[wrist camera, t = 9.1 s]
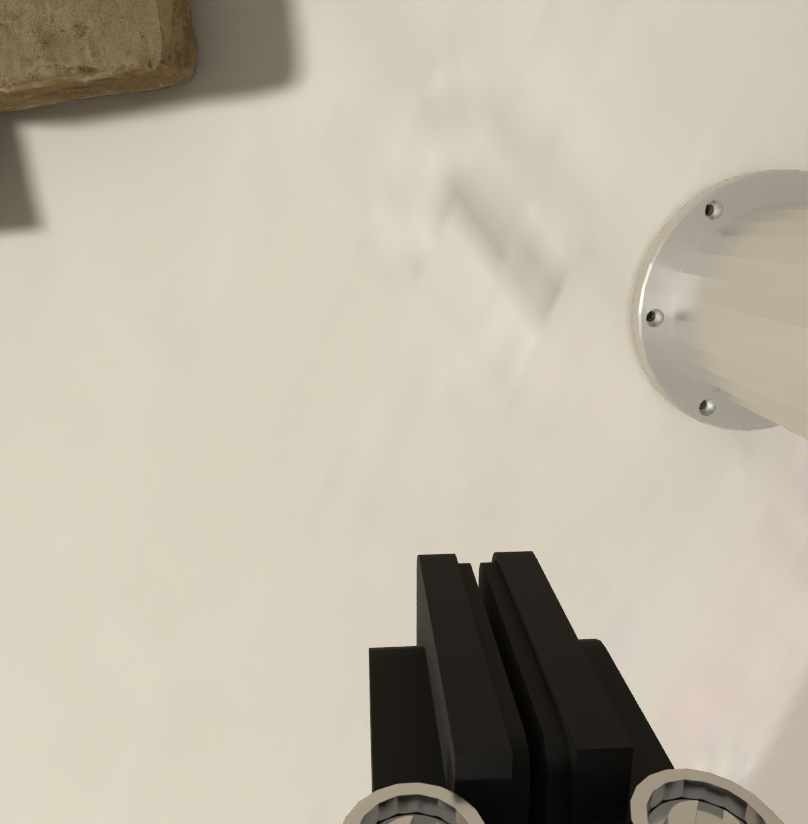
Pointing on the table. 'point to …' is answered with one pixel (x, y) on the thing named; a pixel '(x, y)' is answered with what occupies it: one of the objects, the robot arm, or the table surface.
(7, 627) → the table surface
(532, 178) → the table surface
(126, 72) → the stone block
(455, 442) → the table surface
